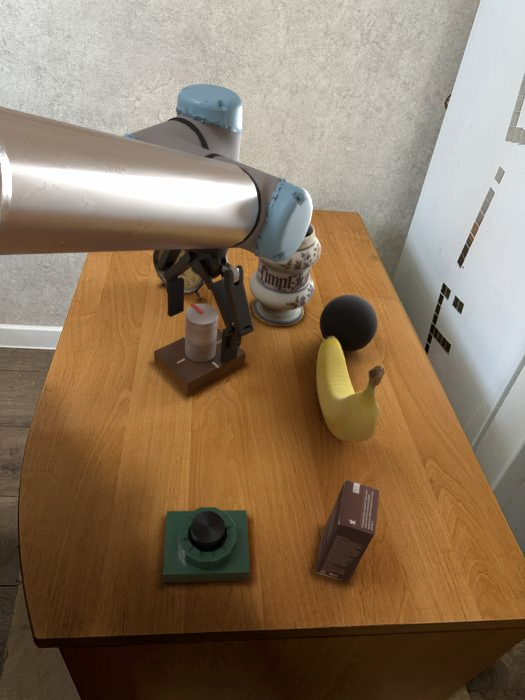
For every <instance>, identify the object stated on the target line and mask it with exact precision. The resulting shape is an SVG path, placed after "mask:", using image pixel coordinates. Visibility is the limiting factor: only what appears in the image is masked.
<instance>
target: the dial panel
mask: <svg viewBox="0 0 525 700" xmlns="http://www.w3.org/2000/svg"><path fill="white" fill-rule="evenodd" d="M222 331H223V330H220V328H217V343H216V354H215V356H214V357H213V358H212V359H211V360H209V361H206V362H196V361H193V360H191V359H189V358H188V357H187V355H186V353H185V334H184V335H182V337H180V338H178V339H176V340H175V341H172V342H170V343H168V344H166V345H163V346H162V347H160V348H158V349H156V350H154V351H153V358H154V359H153V360H154V365H155V367H157V369H158V370H159V371H161V373H162V374H163V375H165V376H166V377H167V379H169V380H170V381H171V383H173V384H174V385H175V386H176V388H178V389H179V390H180V391H181V393H183V394H184V395H185V396H186V397H190V396H192V395H193V394H195V393H196V392H199V391H200V390H202V389H204V388H206V387H207V386H209V385H211V384H213V383H215V382H217V381H218V380H220V379H222V378H224V377H226V376H227V375H229V374H231V373H233V372H235V371H236V370H238V369H240V368H242V367H243V366H245V363H246V356H247V352H246V351H245V350H244V349H243V348H241V347H238V351H237V358H235V359H233V360H231V361H229V362H228V363H226V364H224V365H223V364H222V363H221V362H220V356H221V344H222Z"/></svg>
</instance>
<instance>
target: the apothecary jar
mask: <svg viewBox="0 0 525 700" xmlns="http://www.w3.org/2000/svg"><path fill="white" fill-rule="evenodd" d="M321 254H322V245H321V242H320V241H319V239H318V238H317V236H316V230H315V227H314V225H313V224H312V223H311V222H310V224H309V227H308V230H307V233H306V235H305V237H304V240H303V241H302V243H301V245H300V246H299V248H298V249H297V251H296V252H295V253H294V254H293V255H292V256H291V257H290V258H288V259H287V260H285V261H283V262H274V261H271V260H268V259H266V258H263V257H258V264H257V269H255V271H254V272H253V273H252V274H251V276H250V278H249V283H248V285H249V291H250V293H251V296H253V298H254V299H255V300H254V301H253V303H252V307H251V308H252V312H253V314H254V315H255V317H256V318H257V319H258V320H259V321H261V322H263V323H265V324H267V325H270V326H273V327H289V326H293V325H295V324H297V323H299V321H301V319H302V318H303V316H304V312H305V311H304V306H305V305H307V304H308V303H309V302H310V301H311V300H312V298H313V296H314V295H315V294H314V293H315V284H314V280H313V279H312V277H311V269H312V266H314V265H315V264H317V262H318V261H319V260H320V257H321Z"/></svg>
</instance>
